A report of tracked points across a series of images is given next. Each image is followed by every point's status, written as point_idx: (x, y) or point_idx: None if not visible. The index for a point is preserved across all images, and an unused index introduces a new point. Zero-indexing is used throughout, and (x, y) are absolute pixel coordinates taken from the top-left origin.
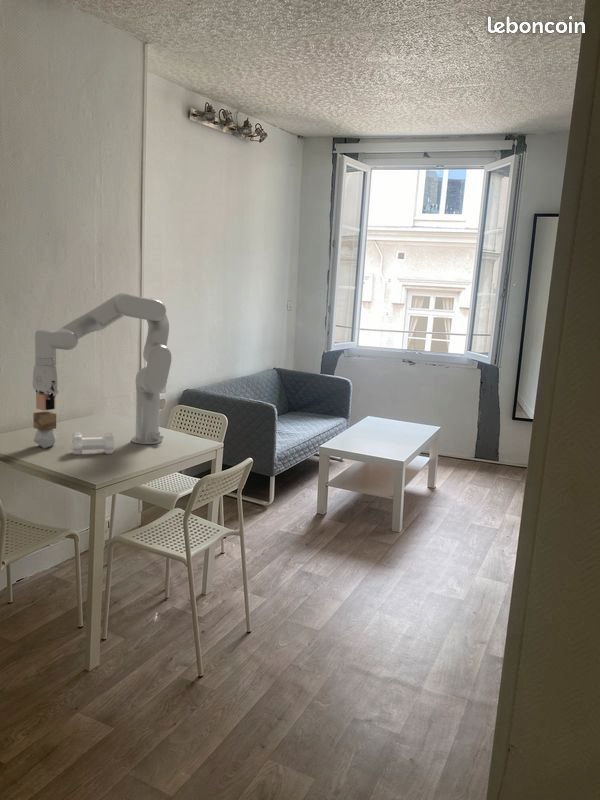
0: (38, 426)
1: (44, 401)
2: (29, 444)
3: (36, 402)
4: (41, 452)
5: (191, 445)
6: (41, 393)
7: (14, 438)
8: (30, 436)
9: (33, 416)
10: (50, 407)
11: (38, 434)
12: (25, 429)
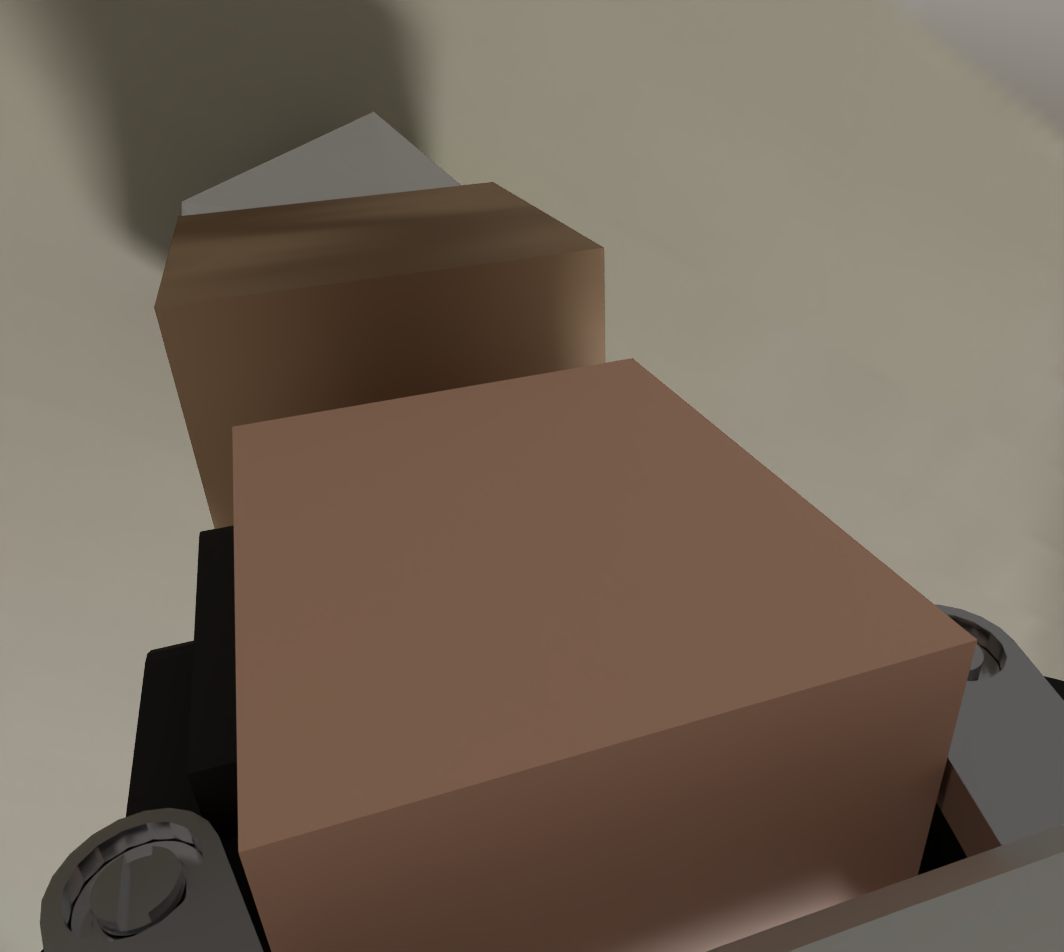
0: (326, 212)
1: (244, 641)
2: (550, 147)
3: (706, 438)
4: (42, 73)
5: None
6: (802, 837)
7: (886, 130)
8: (837, 324)
9: (568, 229)
10: (153, 660)
11: (321, 187)
12: (1061, 393)
